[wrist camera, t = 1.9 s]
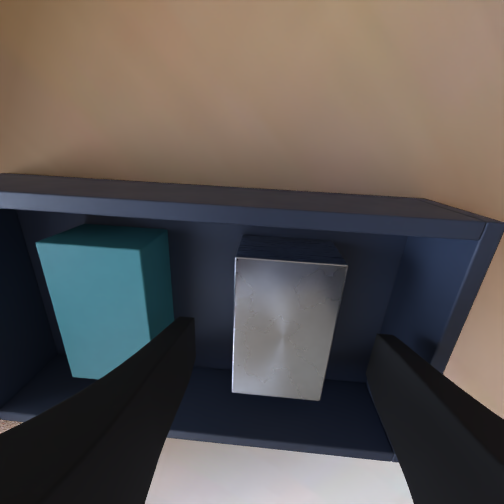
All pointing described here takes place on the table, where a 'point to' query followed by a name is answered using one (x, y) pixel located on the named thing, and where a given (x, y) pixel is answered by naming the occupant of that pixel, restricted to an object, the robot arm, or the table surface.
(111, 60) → the table surface
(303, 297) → the silver metal block
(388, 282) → the box
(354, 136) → the table surface
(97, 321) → the block
